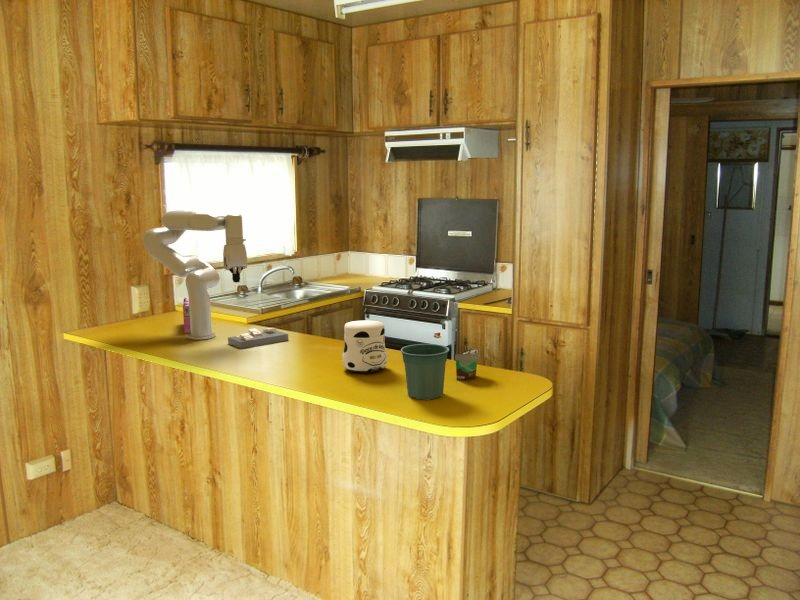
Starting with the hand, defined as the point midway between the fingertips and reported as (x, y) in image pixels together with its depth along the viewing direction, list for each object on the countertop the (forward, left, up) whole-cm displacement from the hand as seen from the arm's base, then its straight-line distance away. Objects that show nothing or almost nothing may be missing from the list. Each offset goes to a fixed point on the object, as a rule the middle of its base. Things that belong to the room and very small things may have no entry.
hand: (236, 281), depth 321 cm
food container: (+113, +35, -27) cm, 121 cm away
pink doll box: (-40, -4, -27) cm, 49 cm away
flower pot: (+117, +9, -27) cm, 120 cm away
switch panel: (+9, +5, -27) cm, 29 cm away
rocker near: (+12, -2, -23) cm, 26 cm away
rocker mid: (+6, +5, -23) cm, 24 cm away
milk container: (+78, +13, -27) cm, 84 cm away
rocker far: (+6, +13, -23) cm, 27 cm away
